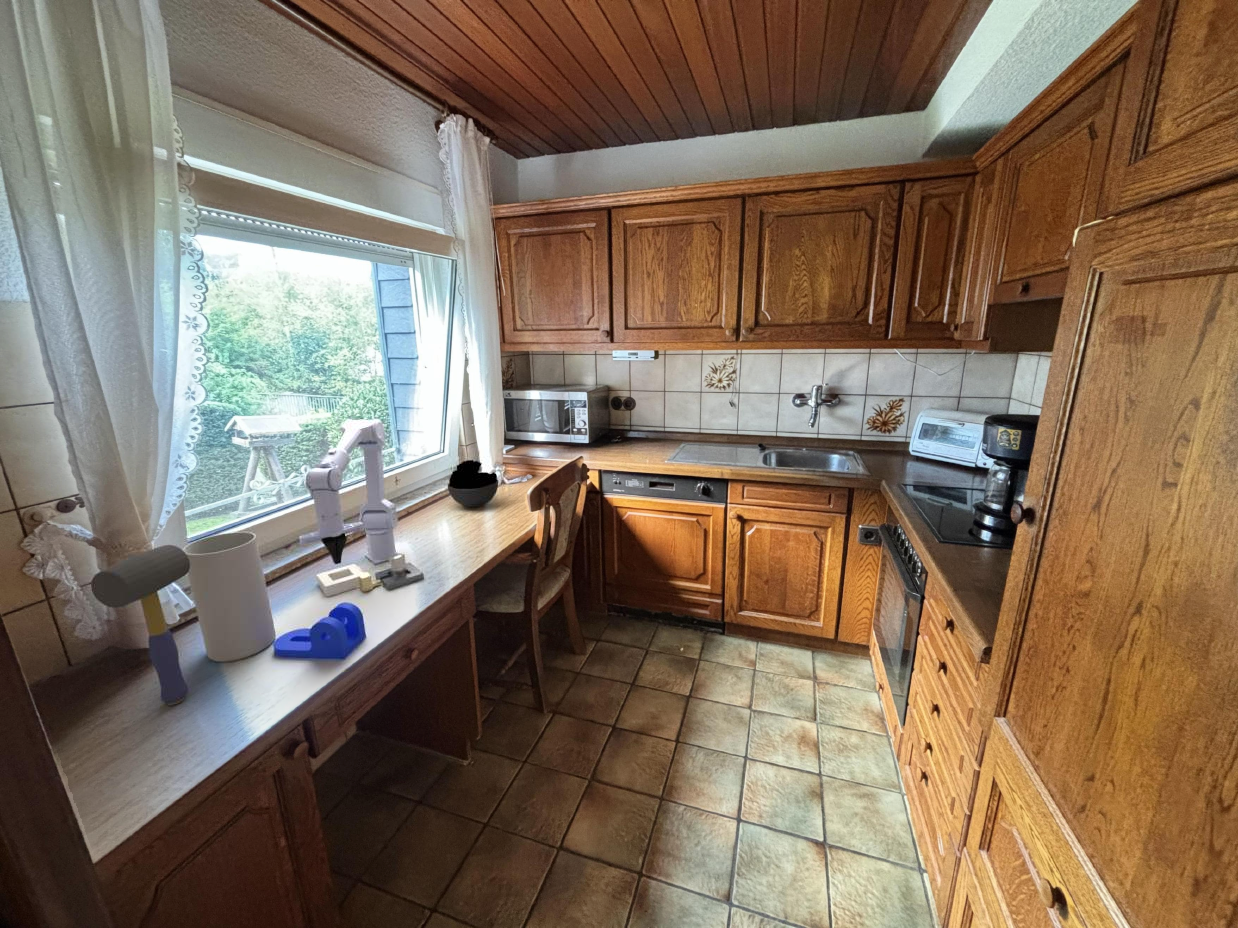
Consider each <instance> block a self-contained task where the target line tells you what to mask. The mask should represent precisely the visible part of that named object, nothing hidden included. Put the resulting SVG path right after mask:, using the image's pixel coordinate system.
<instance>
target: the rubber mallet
mask: <svg viewBox="0 0 1238 928" xmlns="http://www.w3.org/2000/svg"><path fill="white" fill-rule="evenodd" d="M189 569H190V560H189V558H188V556H187V554H186V553H185V552H184V551H183V548H181V547H178V546H177V545H172V544H165V545H161V546H158V547H155V548H151V549H149V550H146V551H143V552H141V553H138V554H136V555H135V554H134V555H132V556H129V557H128V558H126V559H124V560H121V561H119V562H117V563H115V564H113V565H111V566H109V567H107V568H105V569H102V570H101V571H99V572H98V573H95V574H94V576H93V577H92V578H91V584H90V588H91V592H92V594H93V596H94V597H95V599H96V600H97V601H98V602H100V604H102V605H103V606H106V607H108V608H113V609H115V608H117V609H118V608H123V607H125V606H128V605H129V604H132V603H134V602H137V601H140V604H141V608H142V613H143V616H144V620H145V624H146V629H147V633H148V648H149V655H150V660H151V663H152V665H153V667H154V669H155V671H156V675H157V677H158V682H159V685H160V698H161V699H160V700H161V701H162V702H163V703H165V704H166V705H167V706H173V705H176V704H179V703H181V702H183V701H184V700H185V699H186V697H187V695H188V693H189V687H188V684H187V683H186V681H185V680H184V677H183V674H182V669H181V665H180V657H179V650H178V646H177V643H176V641H175V638H174V636H173V634H172V632H171V631H170V629H169V628H168V625H167V621H166V618H165V615H164V611H163V607H162V604H161V600H160V596H159V592H158V591H161V590H162V589H164V588H166V587H168V586H169V585H172V584H174V583H175V582H176V581H178V580H180V579H181V578H184V577H185V576H186V575H188V571H189Z"/></svg>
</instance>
